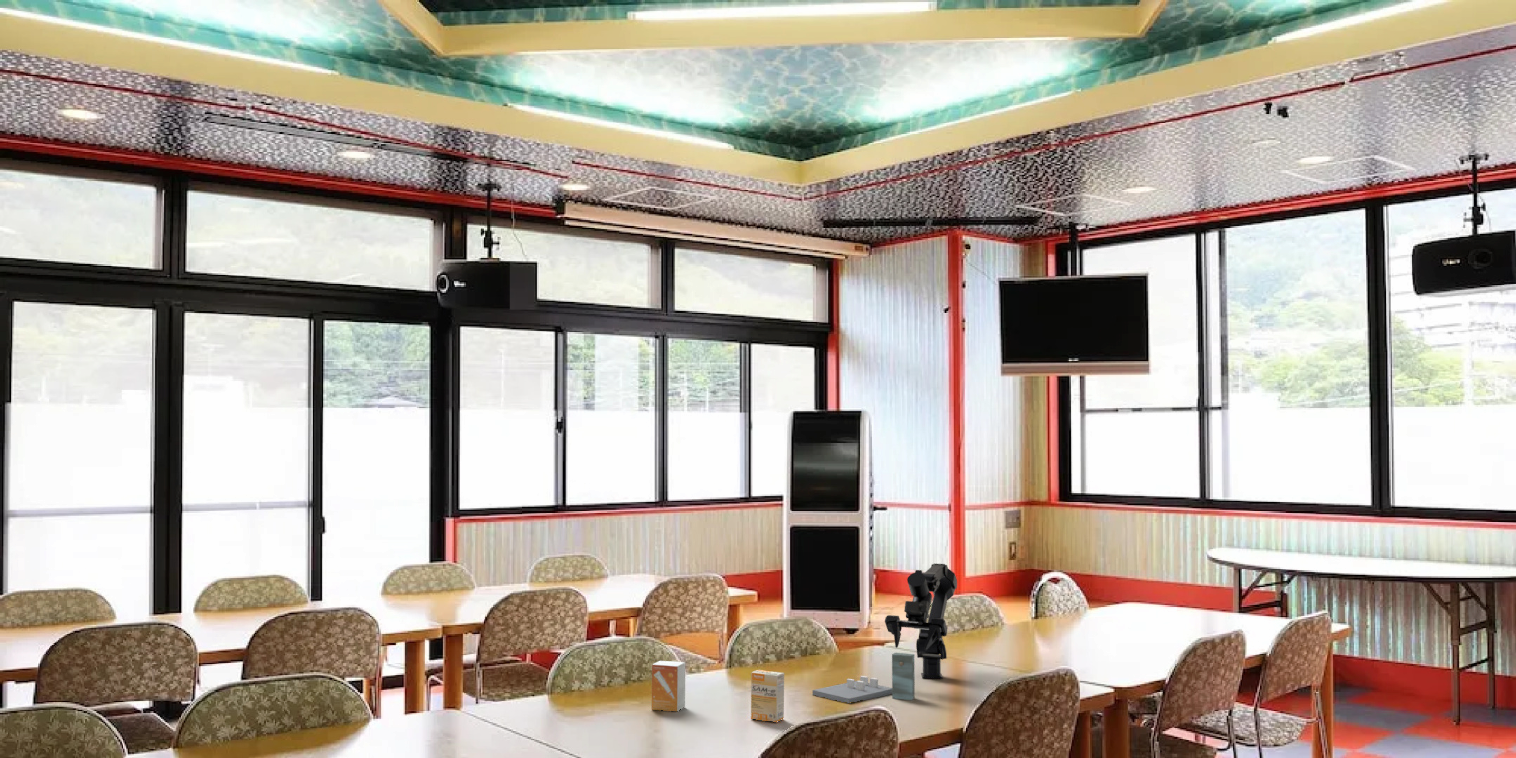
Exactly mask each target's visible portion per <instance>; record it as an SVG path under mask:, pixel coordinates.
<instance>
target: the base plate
mask: <svg viewBox="0 0 1516 758" xmlns="http://www.w3.org/2000/svg"><path fill="white" fill-rule="evenodd" d="M814 695H816V696H815V697H819V698H822V697H825V698H824V699H827V698H828V699H827V700H831V701H835V700H837V702H839V701H841V702H840V703H843V702H847V703H846V704H848V703H850V702H855V703H858V702H857V701H859V702H861V701H860V700H863V701H866V700H872V699H876V698H881V697H885V696H889V695H892V687H889V686H884V685H880V684H879V679H878V678H875V677H870V678H869V677H868V676H866V675H860V677H859V680H855V679H854V678H853V679H852V678H847V679H846V682H844V683H840V684H836V685H831V686H827V687H820V688H816V689H812V696H814ZM850 704H851V703H850Z"/></svg>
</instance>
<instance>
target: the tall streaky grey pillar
mask: <svg viewBox="0 0 1516 758" xmlns="http://www.w3.org/2000/svg"><path fill="white" fill-rule="evenodd" d="M915 679H916V678H915V653H906V652H905V653H903V652H894V653H891V680H892V681H891V685H892V687H891V688H892V694H891V695H892V696H891V698H892V699H895V700H905V701H913V700H914V699H915V695H916V693H915V691H916V689H915V684H916V683H915Z"/></svg>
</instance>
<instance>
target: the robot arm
mask: <svg viewBox="0 0 1516 758" xmlns="http://www.w3.org/2000/svg"><path fill="white" fill-rule="evenodd" d="M906 581H907V584H908V588H909V592H910V595H911V596H913V597H912V600H911V601H910V600H906V601H905V603H904V611H903V612H904V613H905V618H906V619H907V620H906V619H905V620H902V619H900V616H899V615H893V614H888V615H886V616H885V619H884V623H885V626H886V630H887V632H889V633H891V635H893V637H894V638H893V639H894V644H895V645H894V646H895V649H897V648H898V647H899V646H900V645H899V644H900V640H901V637H902V633H901V632H902V628H908V629H909V628H910V629H916V630H919V634H918V638H917V639H916V642H915V644H916V645H915V648H916V657H917V658H921V659H922V672H921V673H920V675H921V678H922V679H943V675H942V673H941V667H942V666H941V663H942V662H941V661H942V660H946V659H947V657H948V656H947V650H946V649H947V648H946V644H945V642H944V640H943V639H944V638H943V637H946V636H947V635H948V626H947V622H946V619H944V617H945V612H946V608H947V603H948V601H949V600H950V599H951V598H952V597H954V595H955V591H956V590H957V588H958V581H957V576H956V574H955V572H954V571H952V570H951V569H949V567H948V565H947V564H945V563H932V564H931V566H930V567H929V568H928V569H927V570H926V571H925V572H923V570H922V569H915V570H914V572H912V573H911V574H910V575H908V577H907V578H906ZM931 592H932V593H931ZM930 607H931V608H930ZM927 620H928V621H927Z"/></svg>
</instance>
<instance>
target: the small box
mask: <svg viewBox="0 0 1516 758" xmlns="http://www.w3.org/2000/svg"><path fill="white" fill-rule="evenodd" d="M683 707H686V662H684V661H673V660H672V661H671V660H668V661H667V660H658V661H656V662H654V663H653V664H651V711H661V710H663V711H662V712H671V711H678V712H680V711H681V710H683V709H684V708H683ZM682 708H683V709H682ZM680 709H681V710H680ZM679 710H680V711H679Z"/></svg>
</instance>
